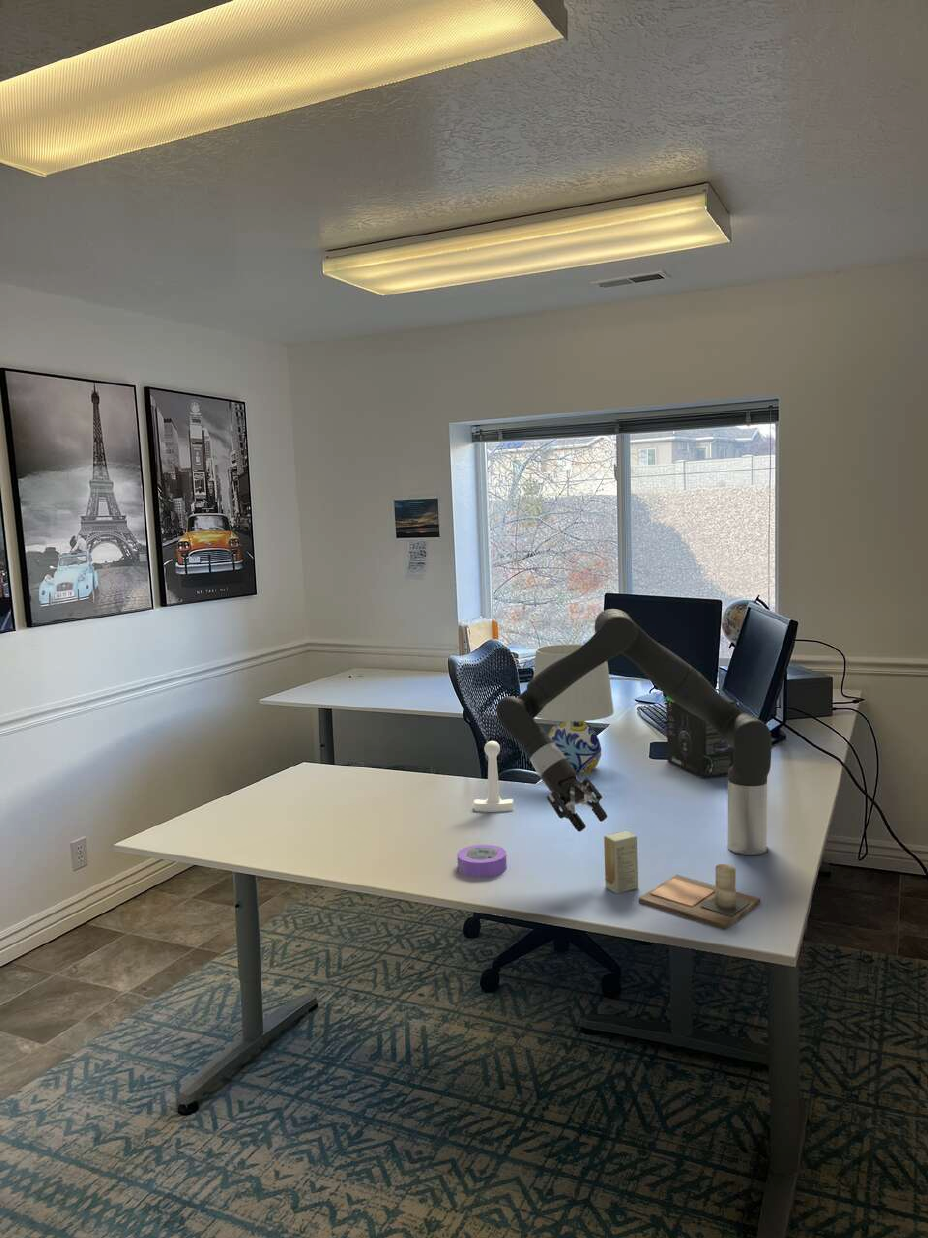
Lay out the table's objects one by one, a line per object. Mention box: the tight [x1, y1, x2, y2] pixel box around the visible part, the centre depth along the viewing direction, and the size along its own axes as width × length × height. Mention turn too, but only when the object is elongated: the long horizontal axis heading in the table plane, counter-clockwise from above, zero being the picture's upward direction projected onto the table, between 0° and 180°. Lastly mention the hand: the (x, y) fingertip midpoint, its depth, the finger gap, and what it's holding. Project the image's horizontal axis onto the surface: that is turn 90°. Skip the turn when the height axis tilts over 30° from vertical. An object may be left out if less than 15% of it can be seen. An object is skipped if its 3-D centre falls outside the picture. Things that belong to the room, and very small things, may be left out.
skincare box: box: [603, 830, 639, 894], centre depth 197 cm, size 6×4×12 cm
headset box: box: [665, 694, 735, 779], centre depth 287 cm, size 22×12×26 cm, turn 17°
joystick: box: [473, 740, 514, 813], centre depth 254 cm, size 11×8×20 cm
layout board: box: [638, 863, 762, 931], centre depth 189 cm, size 16×20×9 cm
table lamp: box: [532, 643, 615, 776], centre depth 289 cm, size 27×27×40 cm
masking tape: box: [457, 844, 508, 878], centre depth 212 cm, size 12×12×4 cm
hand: (593, 824), depth 201 cm, fingers open, 8 cm apart
